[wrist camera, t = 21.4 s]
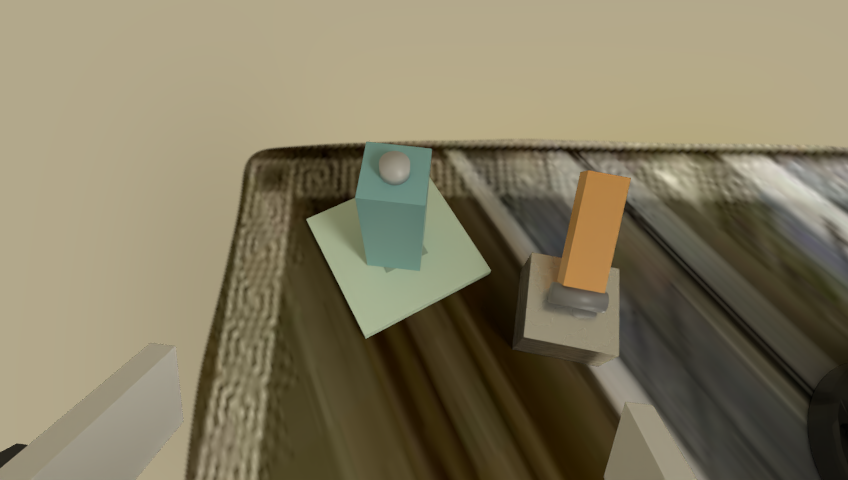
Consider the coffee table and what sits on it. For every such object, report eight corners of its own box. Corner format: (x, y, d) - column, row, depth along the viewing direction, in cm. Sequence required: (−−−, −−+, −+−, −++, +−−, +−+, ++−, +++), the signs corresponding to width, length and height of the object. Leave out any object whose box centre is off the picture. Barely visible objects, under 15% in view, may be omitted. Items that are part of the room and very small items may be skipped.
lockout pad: (423, 172, 44) (423, 167, 44) (489, 273, 40) (491, 270, 39) (307, 223, 41) (305, 218, 41) (365, 338, 37) (364, 335, 36)
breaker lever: (606, 316, 33) (637, 179, 32) (551, 305, 33) (581, 169, 32) (598, 309, 35) (627, 180, 34) (546, 299, 35) (574, 171, 34)
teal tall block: (425, 224, 41) (432, 139, 30) (420, 270, 39) (425, 197, 28) (375, 219, 41) (365, 131, 30) (367, 265, 39) (353, 189, 28)
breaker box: (597, 366, 37) (619, 356, 33) (512, 349, 37) (523, 337, 34) (599, 284, 40) (619, 266, 36) (520, 268, 40) (532, 250, 37)
